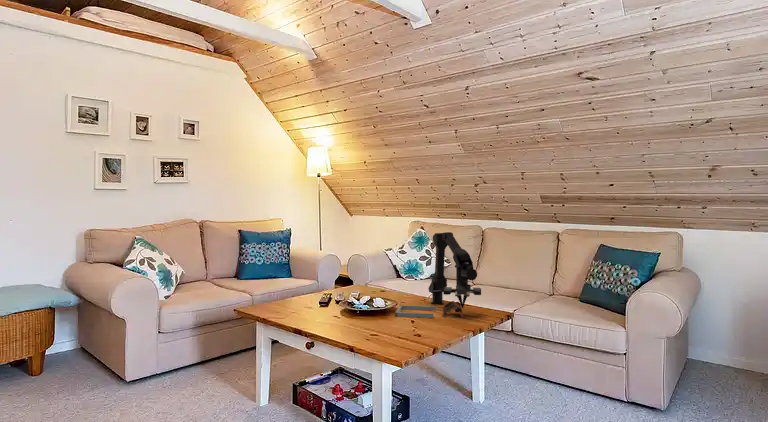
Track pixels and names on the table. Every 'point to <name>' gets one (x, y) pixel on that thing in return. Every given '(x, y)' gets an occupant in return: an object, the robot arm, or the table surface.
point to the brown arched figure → (452, 307)
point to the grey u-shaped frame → (421, 315)
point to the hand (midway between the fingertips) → (462, 308)
